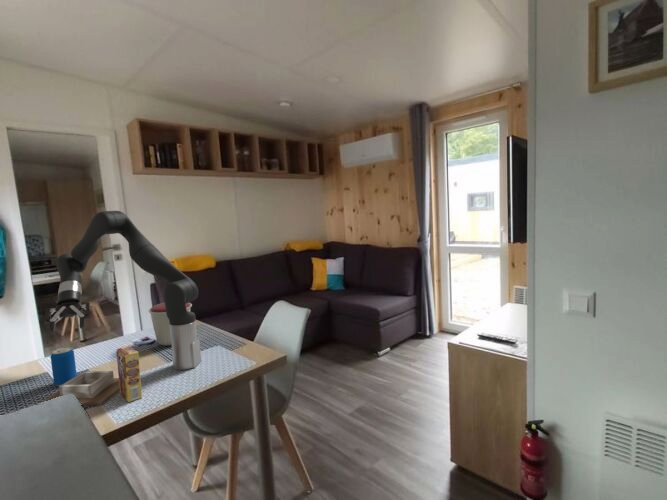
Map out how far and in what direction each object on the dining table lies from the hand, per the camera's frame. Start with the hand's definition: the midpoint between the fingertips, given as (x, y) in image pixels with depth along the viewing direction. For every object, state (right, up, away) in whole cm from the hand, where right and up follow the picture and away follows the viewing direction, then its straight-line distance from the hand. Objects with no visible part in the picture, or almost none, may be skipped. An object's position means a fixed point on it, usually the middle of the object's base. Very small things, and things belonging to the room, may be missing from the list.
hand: (67, 329), depth 129 cm
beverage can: (+6, -17, -9) cm, 20 cm away
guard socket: (+20, -17, -16) cm, 31 cm away
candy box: (+36, -17, -19) cm, 44 cm away
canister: (+27, -13, +29) cm, 41 cm away
